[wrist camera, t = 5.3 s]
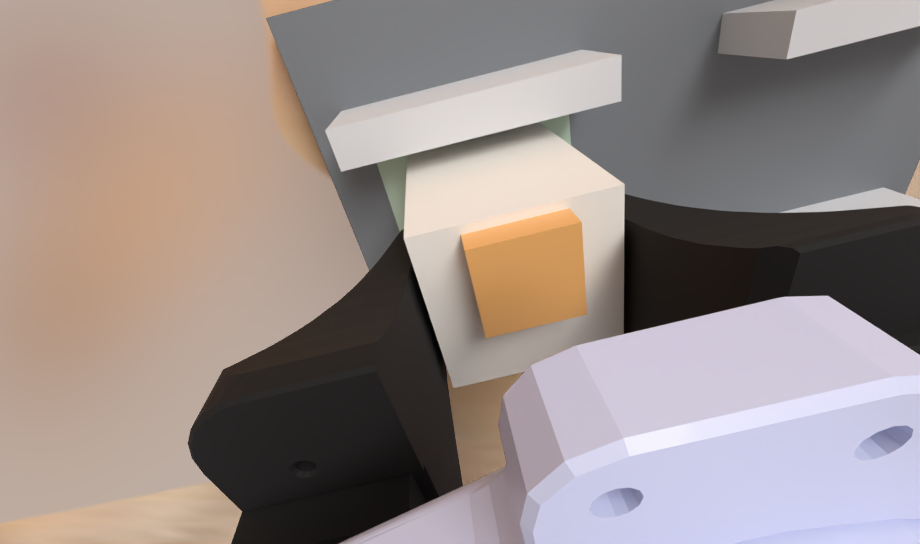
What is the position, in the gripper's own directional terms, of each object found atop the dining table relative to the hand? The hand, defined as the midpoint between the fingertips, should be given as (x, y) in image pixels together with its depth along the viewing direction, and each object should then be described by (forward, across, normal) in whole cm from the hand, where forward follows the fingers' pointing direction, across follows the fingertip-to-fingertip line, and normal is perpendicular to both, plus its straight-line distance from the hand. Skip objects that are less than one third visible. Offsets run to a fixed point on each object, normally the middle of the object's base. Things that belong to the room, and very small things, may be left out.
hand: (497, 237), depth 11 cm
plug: (+2, 0, 0) cm, 2 cm away
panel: (+3, -6, 0) cm, 6 cm away
